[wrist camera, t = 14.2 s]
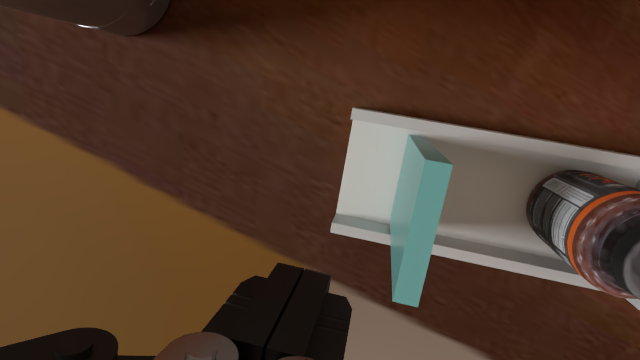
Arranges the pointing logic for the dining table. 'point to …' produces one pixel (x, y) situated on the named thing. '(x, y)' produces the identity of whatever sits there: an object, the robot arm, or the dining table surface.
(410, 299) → the pusher
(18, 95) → the dining table surface
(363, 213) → the lane
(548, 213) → the supplement bottle
